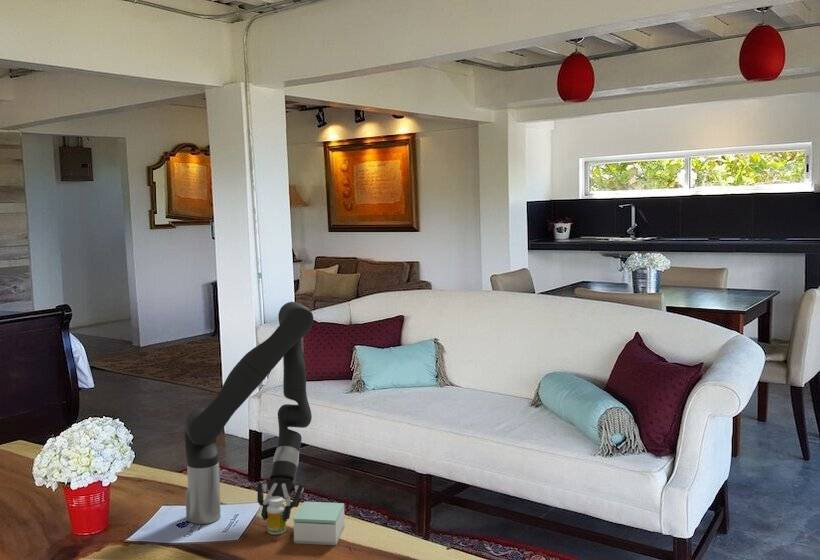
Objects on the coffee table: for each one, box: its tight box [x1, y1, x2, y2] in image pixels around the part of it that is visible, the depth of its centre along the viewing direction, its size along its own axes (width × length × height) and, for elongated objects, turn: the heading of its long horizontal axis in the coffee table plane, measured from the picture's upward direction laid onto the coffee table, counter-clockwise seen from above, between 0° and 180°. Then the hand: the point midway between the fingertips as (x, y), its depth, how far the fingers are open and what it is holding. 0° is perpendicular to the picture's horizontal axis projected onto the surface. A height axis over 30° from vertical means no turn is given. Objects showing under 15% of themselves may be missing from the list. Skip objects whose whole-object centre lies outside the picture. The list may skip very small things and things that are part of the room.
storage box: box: [293, 506, 345, 546], centre depth 217 cm, size 12×12×6 cm
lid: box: [293, 501, 345, 523], centre depth 216 cm, size 12×12×1 cm
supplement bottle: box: [266, 496, 287, 535], centre depth 219 cm, size 5×5×10 cm
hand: (274, 519), depth 217 cm, fingers closed on supplement bottle, 5 cm apart
